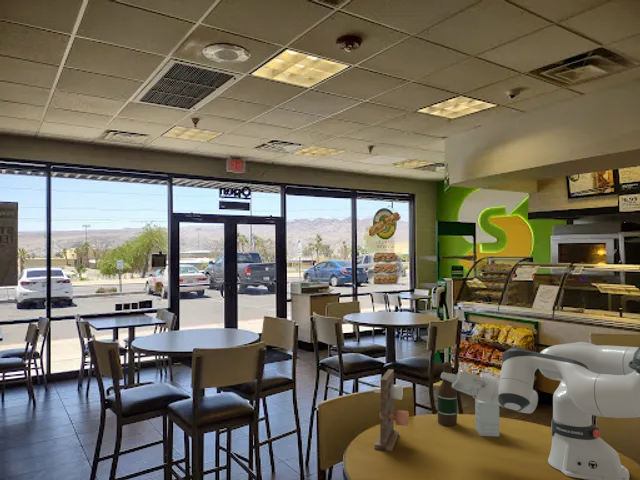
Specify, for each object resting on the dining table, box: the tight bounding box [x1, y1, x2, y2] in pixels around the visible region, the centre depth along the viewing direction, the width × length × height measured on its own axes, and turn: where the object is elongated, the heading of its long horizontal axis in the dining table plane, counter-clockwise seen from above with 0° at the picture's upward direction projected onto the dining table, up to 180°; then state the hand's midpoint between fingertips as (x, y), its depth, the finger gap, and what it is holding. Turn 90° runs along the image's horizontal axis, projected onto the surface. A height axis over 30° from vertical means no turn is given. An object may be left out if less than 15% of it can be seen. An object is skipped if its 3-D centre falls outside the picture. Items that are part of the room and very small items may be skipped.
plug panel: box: [374, 368, 400, 452], centre depth 173 cm, size 6×16×24 cm, turn 162°
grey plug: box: [373, 384, 404, 401], centre depth 173 cm, size 10×5×5 cm, turn 72°
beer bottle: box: [437, 361, 458, 427], centre depth 192 cm, size 8×8×24 cm
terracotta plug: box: [389, 409, 410, 427], centre depth 172 cm, size 10×5×5 cm, turn 72°
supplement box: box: [474, 398, 500, 437], centre depth 182 cm, size 7×7×13 cm
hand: (441, 374), depth 161 cm, fingers closed
